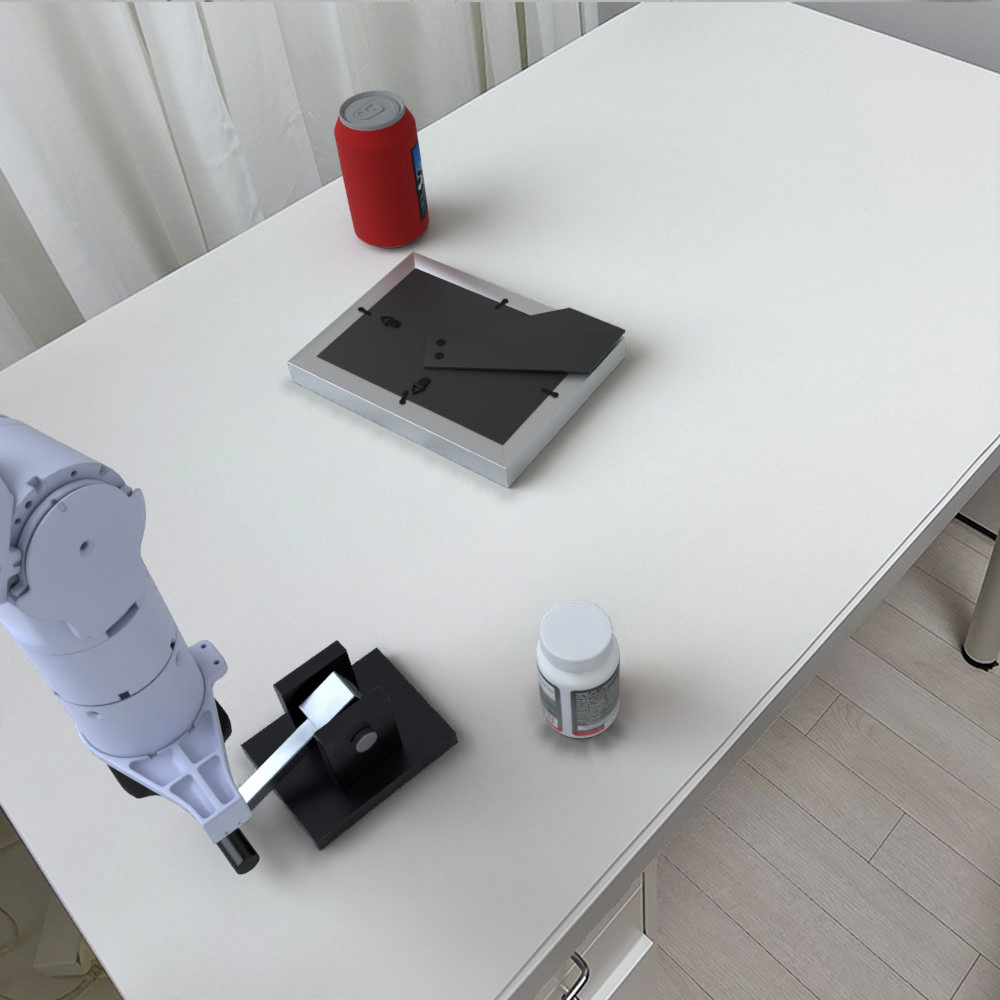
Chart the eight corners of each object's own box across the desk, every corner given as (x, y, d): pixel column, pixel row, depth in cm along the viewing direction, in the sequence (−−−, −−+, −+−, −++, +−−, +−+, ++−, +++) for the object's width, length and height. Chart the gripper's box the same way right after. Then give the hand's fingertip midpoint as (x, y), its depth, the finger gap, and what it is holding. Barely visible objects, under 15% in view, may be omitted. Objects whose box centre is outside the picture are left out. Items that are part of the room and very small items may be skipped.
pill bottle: (628, 681, 67) (630, 604, 61) (607, 749, 64) (607, 675, 58) (553, 662, 68) (548, 584, 62) (530, 728, 66) (522, 653, 59)
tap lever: (250, 878, 60) (227, 871, 58) (195, 801, 63) (171, 792, 61) (393, 729, 61) (376, 718, 59) (333, 661, 65) (314, 648, 63)
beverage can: (446, 227, 98) (430, 103, 89) (390, 264, 95) (368, 140, 86) (394, 199, 101) (374, 77, 92) (339, 234, 98) (312, 112, 89)
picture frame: (625, 357, 86) (416, 271, 94) (625, 329, 83) (411, 243, 92) (508, 488, 78) (292, 381, 86) (505, 462, 76) (284, 354, 84)
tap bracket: (319, 851, 62) (293, 799, 57) (245, 754, 66) (214, 697, 61) (458, 742, 65) (446, 683, 60) (379, 657, 70) (361, 595, 64)
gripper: (279, 703, 45) (339, 839, 55) (115, 503, 52) (194, 656, 63) (124, 813, 42) (218, 934, 52) (-25, 585, 50) (82, 731, 60)
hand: (197, 788), depth 57 cm, fingers closed
